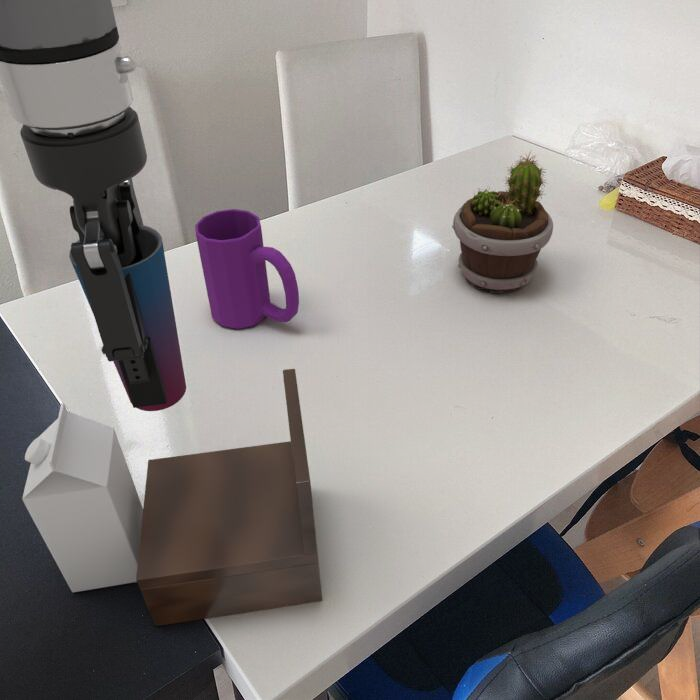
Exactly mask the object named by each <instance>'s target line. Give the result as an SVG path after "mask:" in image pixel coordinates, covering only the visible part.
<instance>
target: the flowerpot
mask: <svg viewBox="0 0 700 700" xmlns="http://www.w3.org/2000/svg"><path fill="white" fill-rule="evenodd" d="M532 151H533V150H530V152H529V154H528V155H527V153H525V156H526V158H525V157H523V156H522V155H519V159H520V160H519V159H517V160H515V162H514V164H515V165H514V164H513V163H512V164H511V166H510V167H506V168H507V170H506V171H505V172H509V173H507V175H504V176H505V177H504V178H505V180H503V179H502V181H505V183H504V186H503V187H504V188H508V189H505V190H503V191H502V190H499V191H495V190H491V189H490V188H491V187H490V185H489V186H486V188H485V189H484V188H482V190H481V188H478V190H477V193H473V197H471V198H469V199H467V200H466V201H465V202H464V203H463V205H461V206H460V207H459V208H458V210H457V211H456V212H455V214H454V216H453V220H452V226H451V228H452V229H453V231H454V234H455V236H456V237H457V239H458V240H459V245H460V251H461V252H460V254H459V256H458V265H457V267H458V269H460V272H461V274H462V276H463V277H464V278H465V280H466V281H467V282H468V283H469V284H470V285H472V286H473V287H474V288H476V289H478V290H485V289H488V290H489V291H490V293H492V294H499V293H505V294H507V293H513V292H515V291H519V290H521V289H522V288H524V286H525V285H527V284H528V283H529V282H530V281H531V280H532V278H533V277H534V275H535V273H536V270H537V268H538V260H537V259H538V257H539V254H540V253H541V250H542V249H543V248H545V246H547V244H548V243H549V242H550V240H551V238H552V235H553V231H554V221H553V219H552V217H551V216H550V213H548V212H547V211H546V209H545V207H544V206H543V204H542V203H541V202H540V201H541V200H543V197H542V196H546V195H547V194H546V193H545V194H544V190H542V189H543V187H546V186H545V184H547V185H549V183H547V180H546V179H544V174H546V168H543V167H541V164H539V163H540V162H539V161H537V160H535V158H536V157H538V156H537V155H536V154H534V155H532V156H531V153H532ZM530 156H531V157H530ZM529 157H530V158H529ZM540 188H541V189H540ZM490 190H491V191H490ZM475 191H476V189H474V191H473V192H475Z"/></svg>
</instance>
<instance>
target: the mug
mask: <svg viewBox="0 0 700 700" xmlns="http://www.w3.org/2000/svg"><path fill="white" fill-rule="evenodd" d="M194 231H195V237H196V243H197V247H198V253H199V258H200V263H201V269H202V273H203V277H204V283H205V288H206V294H207V298H208V303H209V309H210V314H211V318H212V320H213V321H215V322H216V323H217V324H218V325H220V326H221V327H225V328H231V329H236V330H237V329H244V328H250V327H251V328H252V327H254V326H255V325H257V324H259V323H260V322H261V321H262V320H263V319H265V318H266V317H267V318H268V319H270V320H271V321H275V322H278V323H288V322H290V321H291V320H292V319H293V318H294V317H295V316H296V315H297V314H298V312H299V306H300V294H299V286H298V281H297V276H296V272H295V271H294V268H293V267H292V264H291V263H290V261H289V259H287V258H286V256H285V255H284V254H283V253H282V252H281V251H280V250H279V249H277V248H274V247H273V246H272V247H271V246H264V238H263V231H262V224H261V220H260V217H259V215H256V214H254V213H252V212H251V211H250V210H245V209H238V208H237V209H236V208H230V209H223V210H216V211H214V212H211V213H209V214H207V215H204V216H202V218H200V219H199V220H198V222H197V223H195V225H194ZM267 262H268V263H270V264H271V265H272V266H273V267H274V269H275V270H276V272H277V273H278V275H279V278H280V279H281V283H282V287H283V290H284V296H285V308H282V307H280V306H278V305H277V304H274V303H272V302H271V295H270V288H269V287H270V286H269V279H268V270H267Z"/></svg>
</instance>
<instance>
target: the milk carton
mask: <svg viewBox="0 0 700 700" xmlns="http://www.w3.org/2000/svg"><path fill="white" fill-rule="evenodd" d="M58 412H59V413H58V415H57V416H58V417H57V419H55V420H54V421H53V422H52V424H51V425H49V426H48V427H47V429H45V430H44V431H43V432H42V433H41V434H40V435H39V436H38V437H36V438H35V439H34V440H33V441H32V442H31V443H30V444H29V446H28V447H27V449H26V452H25V454H24V460H25V461H26V462H28V463H30V465H29V468H28V469H29V470H28V473H27V476H26V477H27V478H26V481H25V485H24V490H23V494H22V501H23V504H24V506H25V508H26V510H27V512H28V514H29V515H30V517H31V519H32V521H33V523H34V524H35V526H36V528H37V530H38V532H39V535H40V536H41V537H42V540H43V541H44V543H45V545H46V547H47V549H48V550H49V552H50V554H51V556H52V558H53V560H54V561H55V563H56V565H57V567H58V569H59V572H61V574H62V577H63V578H64V580H65V582H66V584H67V586H68V587H69V589H70V591H71V592H72V593H79V592H84V591H91V590H97V589H103V588H109V587H115V586H121V585H127V584H133V583H137V581H136V577H137V567H138V557H139V547H140V537H141V527H142V517H143V508H144V506H143V505H142V502H141V498H140V497H139V494H138V491H137V489H136V485H135V483H134V480H133V477H132V474H131V471H130V469H129V466H128V462H127V460H126V458H125V455H124V452H123V450H122V449H123V448H122V446H121V444H120V441H119V439H118V436H117V433H116V431H115V427H112V426H110V425H108V424H105V423H102V422H99V421H96V420H93V419H91V418H88V417H85V416H83V415H79V414H76V413H75V412H71V411H70V410H68V409H67V407H66V404H65V402H61V403H60V406H59V411H58Z"/></svg>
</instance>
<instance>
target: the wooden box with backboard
mask: <svg viewBox="0 0 700 700" xmlns="http://www.w3.org/2000/svg"><path fill="white" fill-rule="evenodd" d="M282 377H283V387H284V395H285V403H286V404H285V405H286V413H287V422H288V430H289V439H290V441H289V440H288V441H282V442H276V443H275V442H274V443H266V444H259V445H253V446H252V445H251V446H244V447H237V448H229V449H220V450H214V451H206V452H198V453H190V454H184V455H183V454H182V455H176V456H169V457H168V456H167V457H160V458H153V459H148V460H147V469H146V477H145V478H146V479H145V489H144V499H143V517H142V527H141V537H140V547H139V557H138V567H137V577H136V581H137V582H136V584H137V586H138V588H139V590H140V593H141V596H142V598H143V600H144V602H145V604H146V607H147V609H148V612H149V615H150V617H151V619H152V621H153V624H154V627H161V626H167V625H168V626H169V625H173V624H179V623H186V622H187V623H188V622H194V621H201V620H205V619H212V618H219V617H225V616H232V615H239V614H244V613H252V612H258V611H264V610H269V609H276V608H282V607H289V606H296V605H302V604H309V603H310V604H311V603H315V602H322V601H323V591H322V581H321V572H320V571H321V570H320V563H319V552H318V551H319V550H318V543H317V533H316V521H315V514H314V513H315V512H314V505H313V504H314V503H313V502H314V501H313V493H312V484H311V476H310V468H309V461H308V460H309V459H308V453H307V446H306V439H305V432H304V423H303V417H302V410H301V402H300V395H299V389H298V387H299V386H298V380H297V374H296V369H295V368H288V369H287V368H286V369H282Z"/></svg>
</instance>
